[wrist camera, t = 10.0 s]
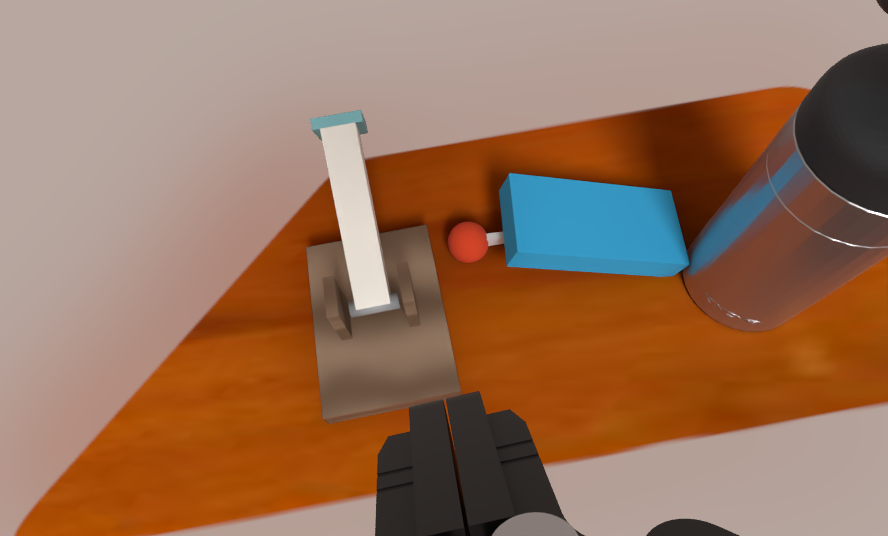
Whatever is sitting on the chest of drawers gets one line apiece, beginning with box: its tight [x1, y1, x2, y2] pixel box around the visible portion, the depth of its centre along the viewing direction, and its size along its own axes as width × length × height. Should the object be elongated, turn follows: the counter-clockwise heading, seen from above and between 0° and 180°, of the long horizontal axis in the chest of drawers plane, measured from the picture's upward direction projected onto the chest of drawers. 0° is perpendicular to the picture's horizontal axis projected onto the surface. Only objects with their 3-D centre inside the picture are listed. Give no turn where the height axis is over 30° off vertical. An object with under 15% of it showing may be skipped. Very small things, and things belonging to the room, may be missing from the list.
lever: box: [448, 173, 690, 277], centre depth 46 cm, size 7×7×18 cm
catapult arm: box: [310, 110, 400, 318], centre depth 41 cm, size 4×4×14 cm
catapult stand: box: [306, 225, 461, 424], centre depth 41 cm, size 14×10×7 cm
